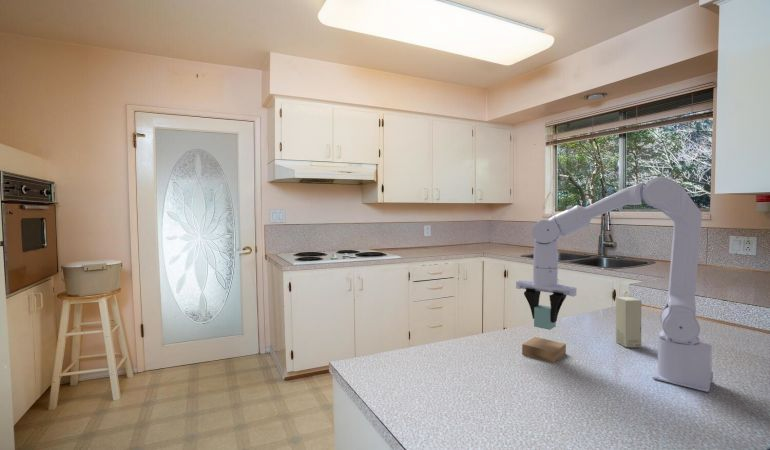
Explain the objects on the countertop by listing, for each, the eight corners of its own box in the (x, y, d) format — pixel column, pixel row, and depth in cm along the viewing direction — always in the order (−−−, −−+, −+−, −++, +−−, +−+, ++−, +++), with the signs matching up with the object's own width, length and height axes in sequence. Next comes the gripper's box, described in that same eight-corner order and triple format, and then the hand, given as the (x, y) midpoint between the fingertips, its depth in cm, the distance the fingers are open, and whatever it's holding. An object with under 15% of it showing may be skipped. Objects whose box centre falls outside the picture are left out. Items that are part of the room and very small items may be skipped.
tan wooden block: (565, 355, 99) (565, 343, 99) (554, 364, 94) (554, 351, 94) (535, 347, 105) (535, 336, 105) (522, 355, 99) (522, 344, 99)
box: (641, 348, 104) (643, 300, 103) (625, 348, 104) (626, 300, 103) (629, 341, 109) (630, 296, 109) (614, 341, 109) (615, 296, 109)
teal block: (555, 326, 99) (556, 307, 99) (549, 329, 97) (550, 309, 96) (540, 323, 102) (540, 304, 102) (533, 326, 99) (534, 307, 99)
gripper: (580, 268, 97) (579, 322, 97) (524, 263, 107) (523, 311, 107) (571, 271, 91) (570, 328, 92) (512, 265, 101) (512, 316, 102)
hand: (544, 319), depth 99 cm, fingers closed on teal block, 4 cm apart
